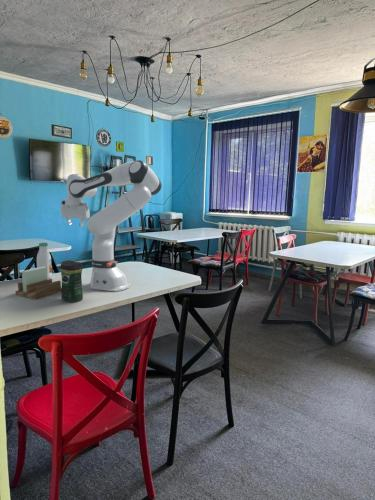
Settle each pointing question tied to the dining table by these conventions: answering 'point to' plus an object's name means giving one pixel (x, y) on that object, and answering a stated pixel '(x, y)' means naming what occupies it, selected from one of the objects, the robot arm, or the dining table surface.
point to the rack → (39, 289)
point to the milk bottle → (44, 258)
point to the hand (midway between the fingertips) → (75, 225)
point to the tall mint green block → (33, 276)
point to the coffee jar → (71, 281)
